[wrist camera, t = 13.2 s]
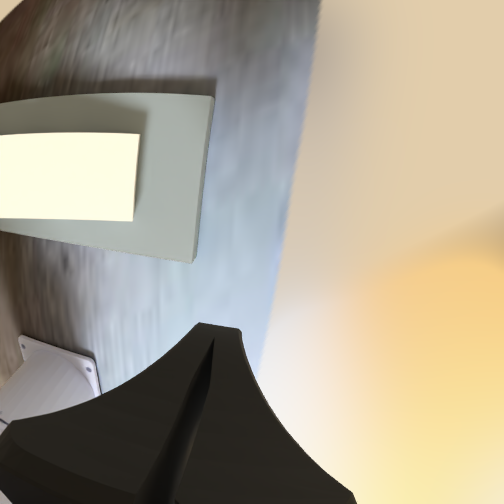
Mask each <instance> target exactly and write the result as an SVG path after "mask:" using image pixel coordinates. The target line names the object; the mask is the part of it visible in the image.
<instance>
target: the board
mask: <svg viewBox="0 0 504 504" xmlns="http://www.w3.org/2000/svg"><path fill="white" fill-rule="evenodd" d="M214 103H215V99H214V98H213V97H212V96H203V95H188V94H168V93H100V94H80V95H66V96H54V97H44V98H35V99H27V100H20V101H13V102H7V103H0V135H14V134H33V133H125V134H141V136H140V146H139V155H138V166H137V178H136V192H135V209H134V218H133V221H106V220H74V219H30V218H0V231H5V232H11V233H16V234H21V235H27V236H32V237H38V238H43V239H49V240H54V241H60V242H65V243H71V244H77V245H83V246H88V247H94V248H100V249H106V250H112V251H118V252H123V253H129V254H135V255H142V256H148V257H154V258H160V259H166V260H172V261H179V262H185V263H191V264H192V263H193V261H194V259H195V258H196V255H197V244H198V234H199V223H200V214H201V204H202V195H203V186H204V178H205V169H206V161H207V153H208V146H209V138H210V131H211V124H212V117H213V110H214Z"/></svg>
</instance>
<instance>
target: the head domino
mask: <svg viewBox="0 0 504 504" xmlns="http://www.w3.org/2000/svg"><path fill="white" fill-rule="evenodd" d="M140 136H141V134H125V133H33V134H14V135H0V218H30V219H74V220H106V221H133V218H134V209H135V192H136V178H137V166H138V155H139V146H140Z"/></svg>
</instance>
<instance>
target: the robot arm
mask: <svg viewBox="0 0 504 504" xmlns="http://www.w3.org/2000/svg"><path fill="white" fill-rule="evenodd" d="M18 340H19V344H20V348H21V351H22V355H23V358H24V363H23V364H22V365H21V366H20V367H19V369H18V370H17V371H16V372H15V373H14V374H13V375H12V376H11V377H10V378H9V380H8V381H7V382H6V383H5V384H4V385H3V386H2V387H1V389H0V504H357V502H356V500H355V497H354V495H353V493H352V492H351V491H350V490H348V489H347V488H346V487H344V486H343V485H342V484H340V483H339V482H338V481H337V480H335V479H334V478H333V477H331V476H330V475H329V474H327V473H326V472H325V471H324V470H323V469H322V468H321V467H320V466H319V465H318V464H317V463H316V462H315V461H314V460H312V459H311V457H309V456H308V455H307V454H306V452H304V450H303V449H302V448H301V447H300V446H299V444H298V443H297V442H296V441H295V440H294V439H293V437H292V436H291V435H290V434H289V433H288V432H287V430H286V429H285V428H284V427H283V425H282V424H281V422H280V421H279V419H278V418H277V417H276V415H275V413H274V412H273V410H272V409H271V407H270V406H269V404H268V402H267V401H266V399H265V397H264V395H263V393H262V391H261V390H260V387H259V386H258V383H257V381H256V379H255V377H254V375H253V372H252V370H251V367H250V365H249V362H248V359H247V356H246V353H245V349H244V346H243V341H242V332H241V331H240V330H239V329H237V328H231V327H224V326H218V325H212V324H206V323H200V322H199V323H198V324H196V325H195V326H194V327H193V328H192V329H191V330H190V331H189V332H188V333H187V334H186V335H185V336H184V337H183V338H182V339H181V340H180V341H179V342H178V343H177V344H176V345H175V346H174V347H173V348H171V349H170V350H169V351H168V352H167V353H166V354H165V355H163V356H162V357H161V358H160V359H158V360H157V361H156V362H154V363H153V364H152V365H150V366H149V367H148V368H146V369H145V370H144V371H142V372H141V373H139V374H138V375H136V376H135V377H133V378H132V379H130V380H128V381H127V382H125V383H123V384H122V385H120V386H118V387H116V388H114V389H112V390H110V391H108V392H106V393H104V394H102V395H101V393H100V388H99V382H98V377H97V371H96V366H95V362H94V361H93V360H92V359H91V358H89V357H86V356H83V355H79V354H76V353H73V352H70V351H67V350H64V349H61V348H58V347H55V346H52V345H49V344H46V343H43V342H40V341H37V340H35V339H32V338H29V337H27V336H24V335H21V336H19V338H18Z"/></svg>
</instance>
